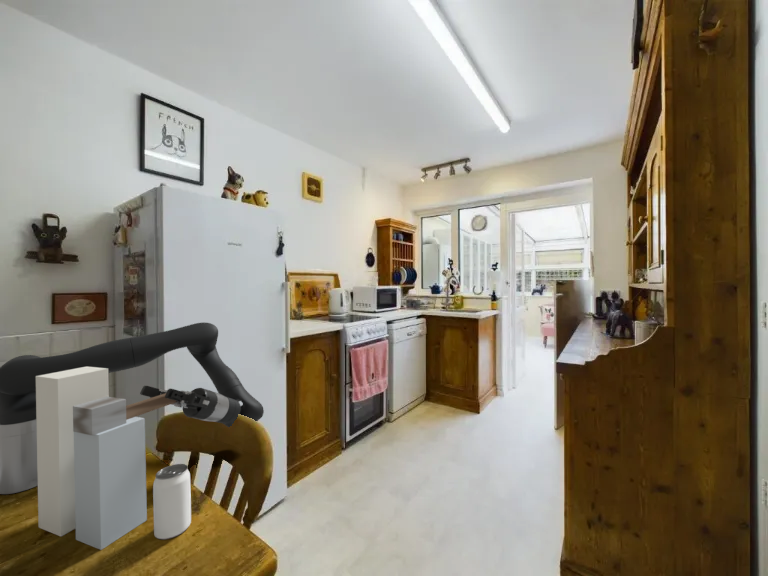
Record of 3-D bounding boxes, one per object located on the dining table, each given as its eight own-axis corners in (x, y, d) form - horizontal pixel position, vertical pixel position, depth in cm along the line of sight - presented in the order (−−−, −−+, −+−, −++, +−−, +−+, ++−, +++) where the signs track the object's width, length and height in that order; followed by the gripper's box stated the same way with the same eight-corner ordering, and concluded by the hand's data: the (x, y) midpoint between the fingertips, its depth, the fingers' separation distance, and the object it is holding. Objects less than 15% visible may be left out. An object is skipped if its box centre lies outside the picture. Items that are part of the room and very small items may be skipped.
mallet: (73, 431, 64) (72, 406, 64) (164, 400, 82) (164, 380, 82) (92, 435, 62) (91, 409, 62) (182, 403, 80) (181, 382, 80)
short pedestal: (75, 539, 65) (73, 429, 65) (122, 512, 73) (120, 414, 73) (101, 549, 62) (98, 435, 62) (146, 520, 70) (144, 418, 70)
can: (173, 542, 64) (172, 481, 64) (145, 538, 65) (144, 478, 65) (198, 519, 70) (197, 464, 70) (172, 516, 71) (171, 461, 71)
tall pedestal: (38, 527, 69) (35, 376, 69) (89, 501, 77) (86, 366, 77) (60, 536, 66) (57, 379, 66) (111, 508, 74) (108, 368, 75)
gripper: (193, 389, 94) (142, 373, 81) (232, 393, 89) (183, 377, 76) (182, 416, 90) (126, 404, 77) (221, 423, 85) (168, 411, 72)
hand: (154, 391), depth 76 cm, fingers open, 8 cm apart
